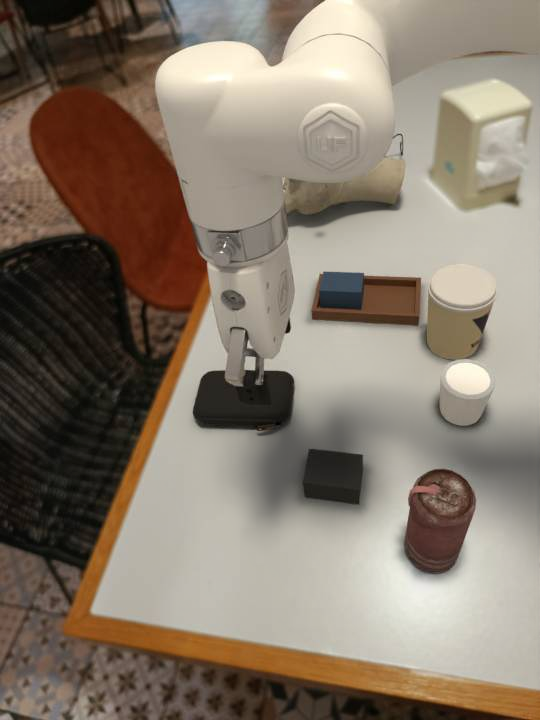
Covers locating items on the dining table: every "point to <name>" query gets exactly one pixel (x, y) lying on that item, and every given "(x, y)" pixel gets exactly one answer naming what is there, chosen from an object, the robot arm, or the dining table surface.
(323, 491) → the pad
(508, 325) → the dining table surface
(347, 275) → the blue block
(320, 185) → the vase
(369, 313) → the tray
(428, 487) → the can
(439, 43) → the robot arm
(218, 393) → the carrying case
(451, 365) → the white short cylinder
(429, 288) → the coffee cup
